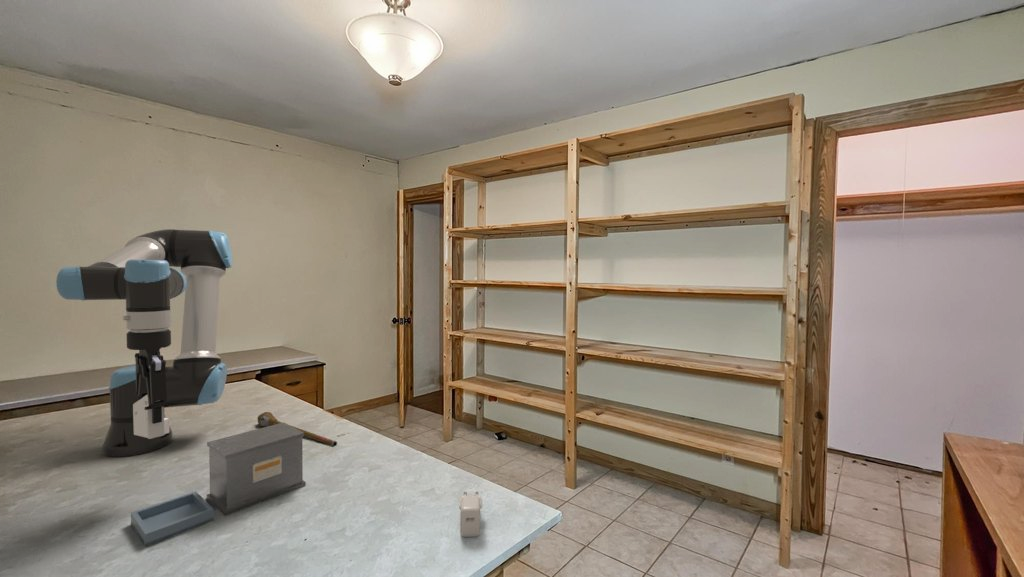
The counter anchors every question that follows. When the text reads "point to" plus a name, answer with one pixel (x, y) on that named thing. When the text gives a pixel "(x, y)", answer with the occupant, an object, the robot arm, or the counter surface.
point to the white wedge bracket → (144, 418)
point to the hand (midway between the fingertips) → (151, 432)
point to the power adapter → (470, 515)
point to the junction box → (254, 467)
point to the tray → (171, 518)
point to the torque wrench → (270, 420)
